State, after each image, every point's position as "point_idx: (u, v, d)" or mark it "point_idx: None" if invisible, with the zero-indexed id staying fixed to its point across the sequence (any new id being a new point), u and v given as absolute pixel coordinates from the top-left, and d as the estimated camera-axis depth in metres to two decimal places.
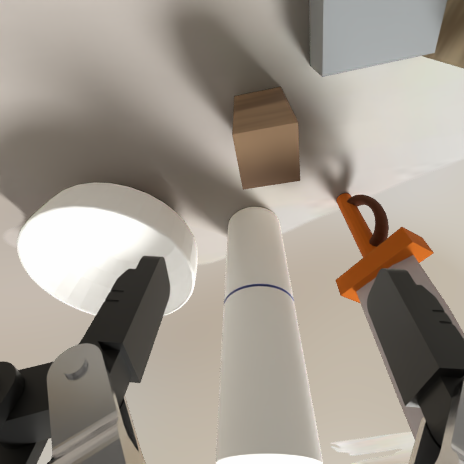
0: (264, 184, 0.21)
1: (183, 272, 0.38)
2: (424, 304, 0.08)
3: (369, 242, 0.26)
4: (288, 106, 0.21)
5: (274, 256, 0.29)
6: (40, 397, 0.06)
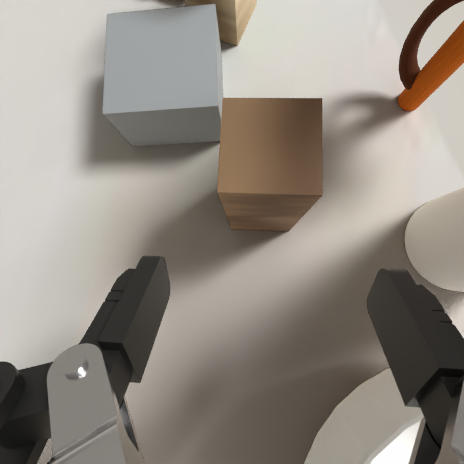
0: (318, 156, 0.12)
1: None
2: (424, 304, 0.08)
3: None
4: None
5: None
6: (40, 397, 0.06)
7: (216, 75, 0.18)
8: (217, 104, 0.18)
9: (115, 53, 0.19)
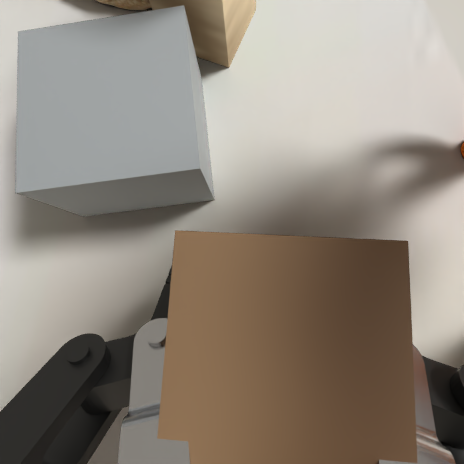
0: (405, 396, 0.05)
1: None
2: None
3: None
4: None
5: None
6: (120, 379, 0.07)
7: (193, 118, 0.12)
8: (198, 165, 0.11)
9: (33, 92, 0.12)
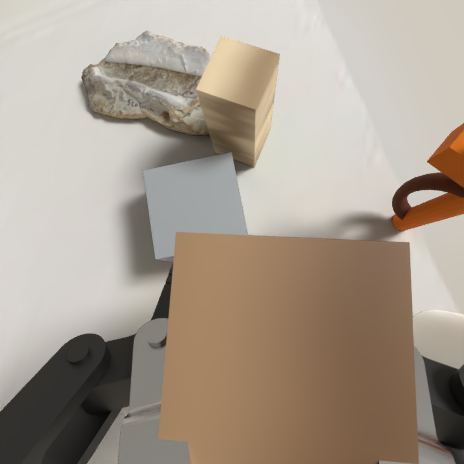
0: (407, 398, 0.05)
1: None
2: None
3: (461, 196, 0.17)
4: None
5: None
6: (120, 379, 0.07)
7: (243, 214, 0.23)
8: None
9: (156, 204, 0.23)
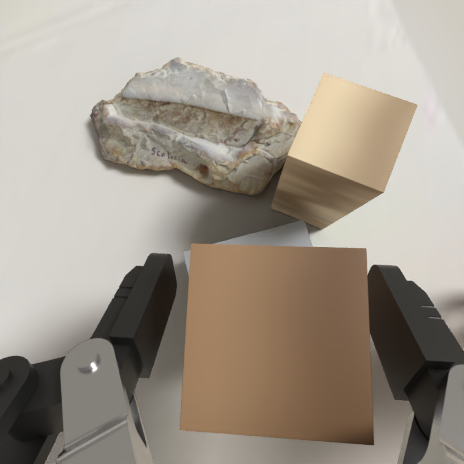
0: (364, 363, 0.06)
1: None
2: (413, 299, 0.08)
3: None
4: None
5: None
6: (52, 393, 0.06)
7: None
8: None
9: None
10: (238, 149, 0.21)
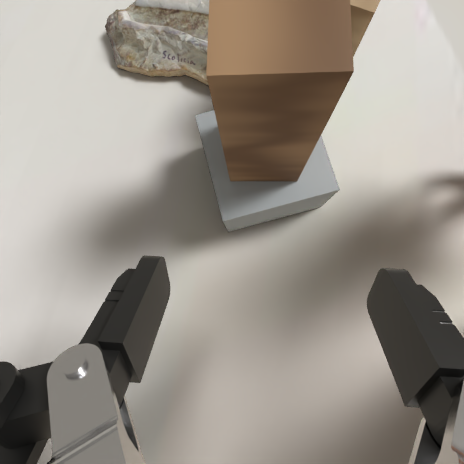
0: (346, 20, 0.08)
1: None
2: (424, 304, 0.08)
3: None
4: None
5: None
6: (40, 397, 0.06)
7: (327, 158, 0.18)
8: (337, 187, 0.18)
9: (216, 155, 0.19)
10: None
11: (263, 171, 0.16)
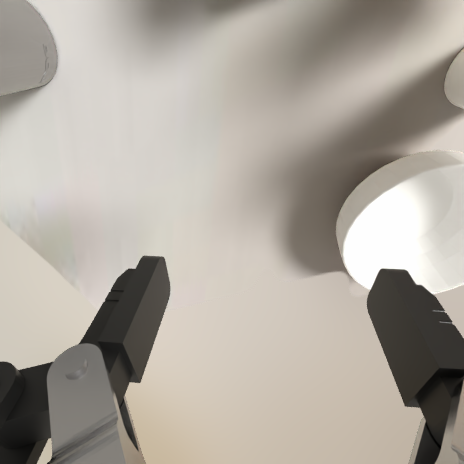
0: None
1: None
2: (424, 304, 0.08)
3: None
4: None
5: None
6: (40, 397, 0.06)
7: None
8: None
9: None
10: None
11: None
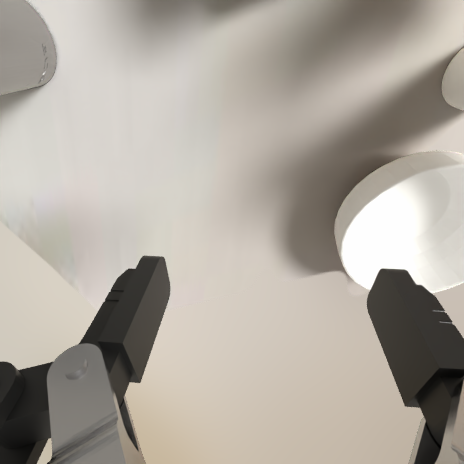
0: None
1: None
2: (424, 304, 0.08)
3: None
4: None
5: None
6: (40, 397, 0.06)
7: None
8: None
9: None
10: None
11: None
